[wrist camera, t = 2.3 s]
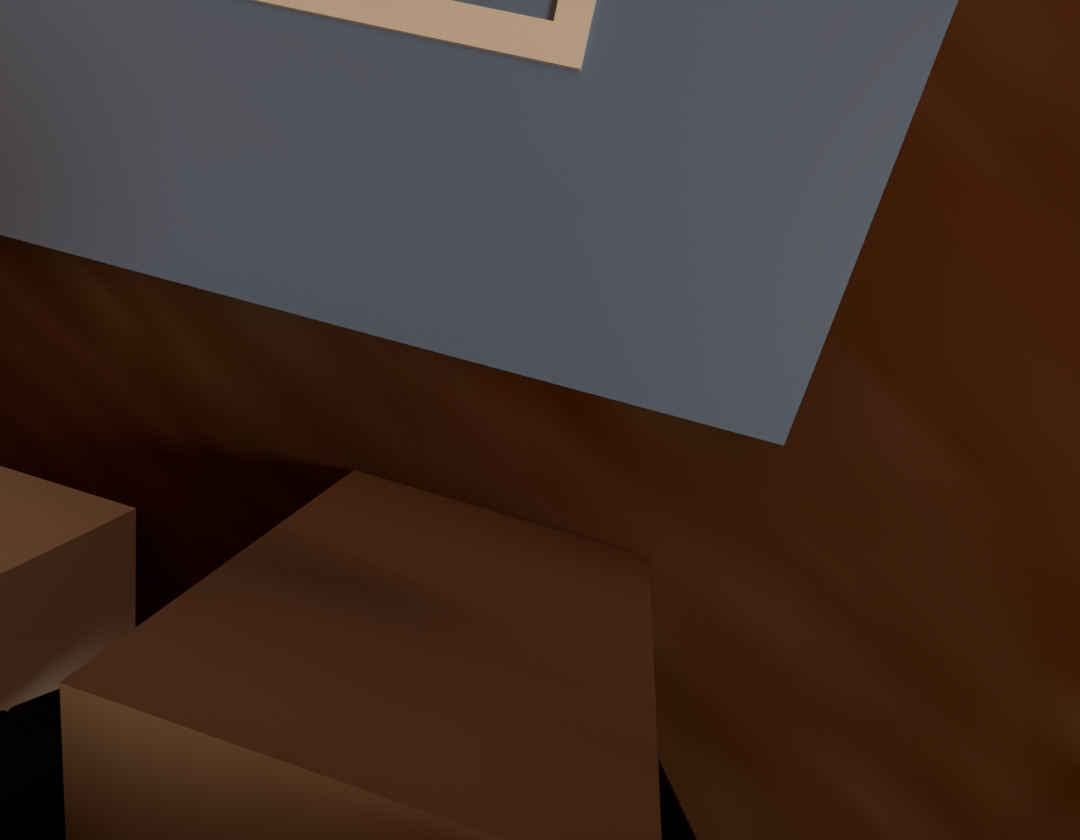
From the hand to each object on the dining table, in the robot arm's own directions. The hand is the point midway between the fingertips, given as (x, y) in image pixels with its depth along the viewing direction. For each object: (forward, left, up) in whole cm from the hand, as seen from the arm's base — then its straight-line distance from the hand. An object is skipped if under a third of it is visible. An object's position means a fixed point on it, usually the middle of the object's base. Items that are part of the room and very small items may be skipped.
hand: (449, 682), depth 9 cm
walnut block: (0, 0, -1) cm, 1 cm away
